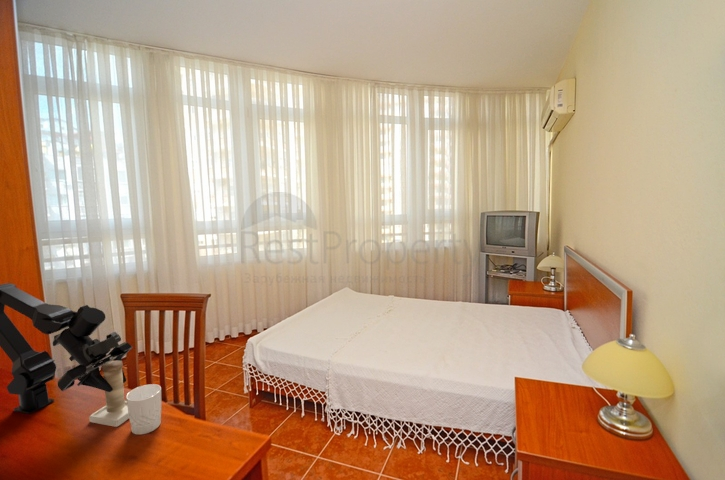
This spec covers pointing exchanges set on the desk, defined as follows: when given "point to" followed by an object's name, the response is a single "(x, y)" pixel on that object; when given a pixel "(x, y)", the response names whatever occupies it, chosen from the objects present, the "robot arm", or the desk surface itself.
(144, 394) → the white cup
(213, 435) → the desk surface
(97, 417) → the tray
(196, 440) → the desk surface
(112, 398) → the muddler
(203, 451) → the desk surface
